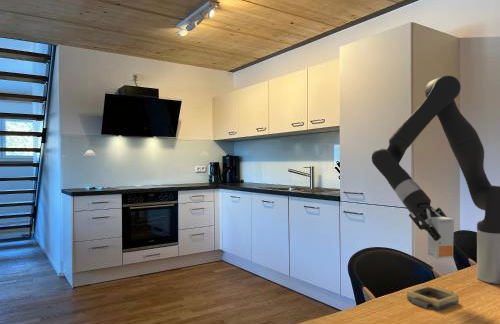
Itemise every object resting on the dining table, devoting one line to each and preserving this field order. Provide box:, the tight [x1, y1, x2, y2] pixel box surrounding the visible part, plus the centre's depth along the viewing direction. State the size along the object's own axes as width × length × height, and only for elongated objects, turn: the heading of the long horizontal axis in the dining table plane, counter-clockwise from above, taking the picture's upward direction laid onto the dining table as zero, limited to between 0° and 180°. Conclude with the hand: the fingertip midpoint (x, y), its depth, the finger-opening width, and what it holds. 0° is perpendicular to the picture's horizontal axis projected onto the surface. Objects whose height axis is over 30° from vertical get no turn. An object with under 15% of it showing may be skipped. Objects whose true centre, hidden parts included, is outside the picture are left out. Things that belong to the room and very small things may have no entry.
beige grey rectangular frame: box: [406, 285, 460, 312], centre depth 109 cm, size 13×10×2 cm
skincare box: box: [427, 217, 455, 259], centre depth 112 cm, size 6×4×12 cm
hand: (445, 238), depth 111 cm, fingers closed on skincare box, 6 cm apart
